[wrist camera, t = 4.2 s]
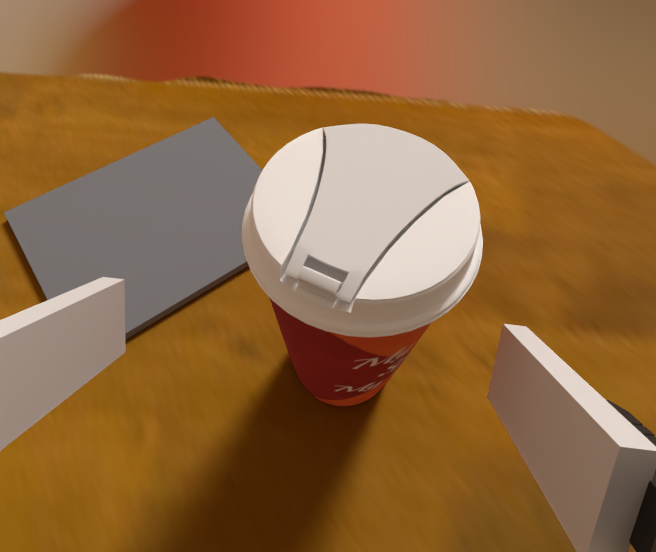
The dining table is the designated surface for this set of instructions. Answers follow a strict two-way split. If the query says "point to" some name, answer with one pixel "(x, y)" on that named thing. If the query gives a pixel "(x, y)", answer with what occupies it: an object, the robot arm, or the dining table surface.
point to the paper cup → (360, 251)
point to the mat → (145, 223)
